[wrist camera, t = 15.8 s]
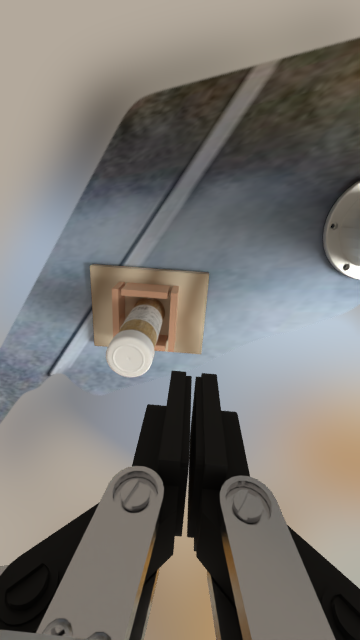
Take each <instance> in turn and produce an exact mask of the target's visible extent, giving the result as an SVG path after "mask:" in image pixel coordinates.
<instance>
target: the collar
mask: <svg viewBox="0 0 360 640" xmlns="http://www.w3.org/2000/svg"><path fill="white" fill-rule="evenodd" d="M169 292H170V286H169V285H156V284H142V283H129V282H128V283H127V284H126V285H125V282H118V283H117V284H116V285H115V286H114V287H113V288H112V315H113V337H114V336H115V335H116V334H118V333H119V331H120V328H121V326H122V325H123V323H124V321H125V296H135V297H148V298H161V299H168V296H169ZM178 294H179V286H173V288H172V291H171V301H170V320H169V339H168V352H174V348H175V341H176V326H177V310H178ZM167 338H168V335H161V334H159V336H158V339H157V342H156V345H155V348H154V351H165V349H166V344H167Z"/></svg>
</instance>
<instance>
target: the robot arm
mask: <svg viewBox="0 0 360 640" xmlns="http://www.w3.org/2000/svg"><path fill="white" fill-rule="evenodd" d="M331 224H333V227H332V228H331ZM323 244H324V250H325V253H326V256H327V258H328V260H329V261H330V263H331V264H332V265H333V266H334V267H335V269H336V270H338V271H339V272H341V273H342V274H344V275H346V276H349V277H351V278H355V279H358V280H360V181H358V182H356V183H355V184H354V185H352V186H351V187H350V188H348V189H347V190H346V191H345V192H344V193H343V194H342V195H341V196H340V197H339V198H338V200H337V201H336V203H335V204H334V205H333V207H332V208H331V211H330V213H329V215H328V217H327V219H326V223H325V226H324V233H323ZM343 265H344V267H343ZM191 378H192V377H191V376H186V372H181V371H172V373H171V380H170V387H169V393H168V400H167V406H161V405H149V404H148V405H147V408H146V412H145V417H144V420H143V424H142V428H141V432H140V436H139V440H138V444H137V448H136V452H135V456H134V460H133V464H132V467H128V468H126V469H124V470H122V471H120V472H119V473H118V474H116V475H115V476H114V477H113V479H112V480H111V481H110V483H109V485H108V487H107V489H106V491H105V493H104V495H103V497H102V499H101V501H100V502H99V503H98V504H97V505H95V506H94V507H92V508H91V509H89V510H88V511H86V512H85V513H83V514H82V515H80V516H79V517H77V518H76V519H74V520H73V521H71V522H70V523H68V524H67V525H65V526H64V527H62V528H61V529H60V530H58V531H57V532H55V533H53V534H52V535H51V536H49V537H48V538H46V539H45V540H43V541H42V542H40V543H39V544H37V545H36V546H34V547H33V548H31V549H30V550H29V551H27V552H25V553H24V554H22V555H21V556H19V557H18V558H17V559H16V560H15V561H13V562H12V563H11V564H10V565H6V566H0V640H144V636H145V631H146V627H147V623H148V619H149V614H150V610H151V605H152V601H153V597H154V592H155V588H156V584H157V579H158V575H159V568H160V567H161V566H162V565H163V564H164V563H165V562H166V561H167V560H168V559H169V558H170V557H171V556H172V555H173V549H174V537H175V536H182V527H183V517H184V507H185V497H186V487H187V477H188V467H189V490H188V491H189V492H188V526H187V528H188V529H187V537H192V538H194V551H197V558H198V559H199V561H200V562H201V563H202V564H203V566H204V567H205V568H206V569H207V580H208V587H209V594H210V600H211V607H212V614H213V620H214V627H215V634H216V640H360V589H359V588H358V587H357V586H356V585H355V584H353V583H352V582H351V581H350V580H349V579H348V578H347V577H346V576H344V575H343V574H342V573H341V572H340V571H339V570H337V568H335V567H334V566H333V565H332V564H331V563H330V562H329V561H327V560H326V559H325V558H324V557H323V556H322V555H321V554H319V553H318V552H317V551H316V550H315V549H314V548H313V547H312V546H310V545H309V544H308V543H307V542H306V541H305V540H304V539H302V538H301V537H300V536H299V535H298V534H297V533H296V532H294V531H293V530H292V529H291V528H290V527H289V526H288V525H287V524H286V522H285V520H284V517H283V515H282V512H281V510H280V508H279V505H278V503H277V501H276V499H275V497H274V495H273V494H272V492H271V491H270V490H269V489H268V487H266V485H265V484H263V483H262V482H260V481H258V480H257V479H254V478H252V477H250V474H249V469H248V464H247V460H246V455H245V450H244V445H243V440H242V435H241V430H240V425H239V420H238V415H237V413H236V412H229V411H221V407H220V399H219V391H218V382H217V375H216V374H205V373H202V375H201V377H196V381H195V391H194V402H193V411H192V421H191V432H190V413H191ZM189 447H190V454H189Z"/></svg>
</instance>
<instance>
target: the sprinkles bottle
mask: <svg viewBox="0 0 360 640" xmlns="http://www.w3.org/2000/svg"><path fill="white" fill-rule="evenodd" d="M164 317H165V309H164V306H163V305H162V303H161V302H160V301H159V300H157V299H155V298H148V297H146V298H142V299H140V300H138V301H137V303H136V304H135V305H134V308H133V309H132V311H131V312H130V314H129V315H128V317H127V318H126V320H125V321H124V323H123V325H122V326H121V328H120V331H119V333H118V334H116V335H115V336H114V337H113V339H112V340H111V342H110V344H109V346H108V348H107V351H106V359H107V362H108V364H109V366H110V367H111V369H112V370H113V371H115V372H116V373H117V374H119V375H122V376H125V377H137V376H140V375H142V374H144V373H145V372H146V371H147V370H148V369H149V368H150V366H151V363H152V360H153V357H154V348H155V345H156V342H157V339H158V336H159V333H160V329H161V326H162V321H163V319H164Z"/></svg>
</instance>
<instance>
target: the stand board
mask: <svg viewBox="0 0 360 640" xmlns="http://www.w3.org/2000/svg"><path fill="white" fill-rule="evenodd" d="M90 277H91V294H92V311H93V328H94V344H95V346H106V347H108V346H109V344H110V342H111V340H112V339H113V315H112V288H113V287H114V286H115V285H116V284H117V283H118V282H125V285H126V284H127V283H128V282H129V283H142V284H156V285H169V286H170V292H169V296H168V299H161V298H155V299H157V300H159V301H160V302H161V303H162V305H163V306H164V309H165V317H164V319H163V321H162V326H161V329H160V333H159V334H161V335H168V338H167V344H166V349H165V351H167V352H168V339H169V320H170V301H171V291H172V288H173V286H179V294H178V310H177V326H176V341H175V348H174V352H180V353H192V354H201V350H202V340H203V330H204V320H205V311H206V301H207V291H208V282H209V273H208V272H194V271H180V270H167V269H153V268H140V267H126V266H112V265H99V264H92V265H90ZM142 298H146V297H135V296H125V320H126V318H127V317H128V315H129V314H130V312H131V311H132V309H133V308H134V305H135V304H136V303H137V301H138V300H140V299H142Z"/></svg>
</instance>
